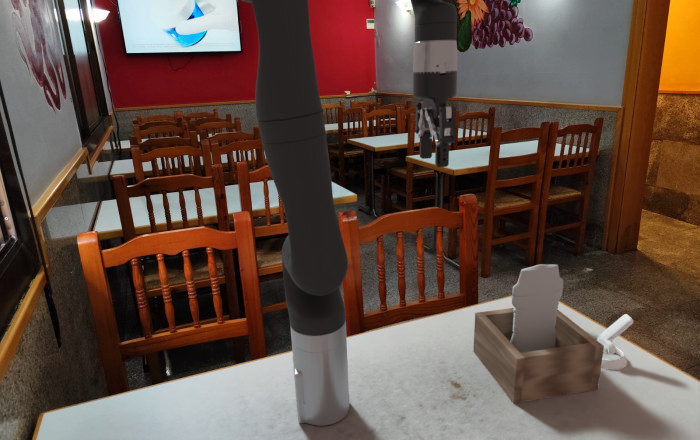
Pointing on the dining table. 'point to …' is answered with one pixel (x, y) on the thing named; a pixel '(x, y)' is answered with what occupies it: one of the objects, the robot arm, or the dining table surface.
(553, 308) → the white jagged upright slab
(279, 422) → the dining table surface
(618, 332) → the white vr controller
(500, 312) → the open wooden box
